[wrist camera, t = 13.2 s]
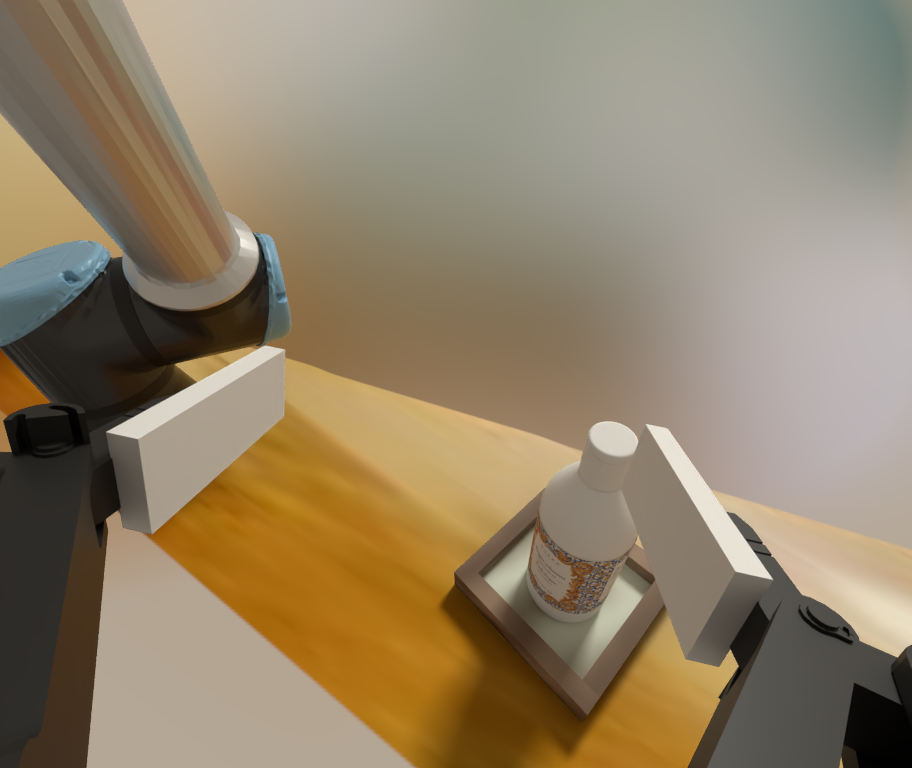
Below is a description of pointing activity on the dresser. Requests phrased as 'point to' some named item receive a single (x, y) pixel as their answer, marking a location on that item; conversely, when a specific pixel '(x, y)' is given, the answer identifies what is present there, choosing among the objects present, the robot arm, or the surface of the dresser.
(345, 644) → the dresser surface
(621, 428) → the bath foam
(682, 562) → the robot arm
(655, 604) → the tray
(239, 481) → the dresser surface
